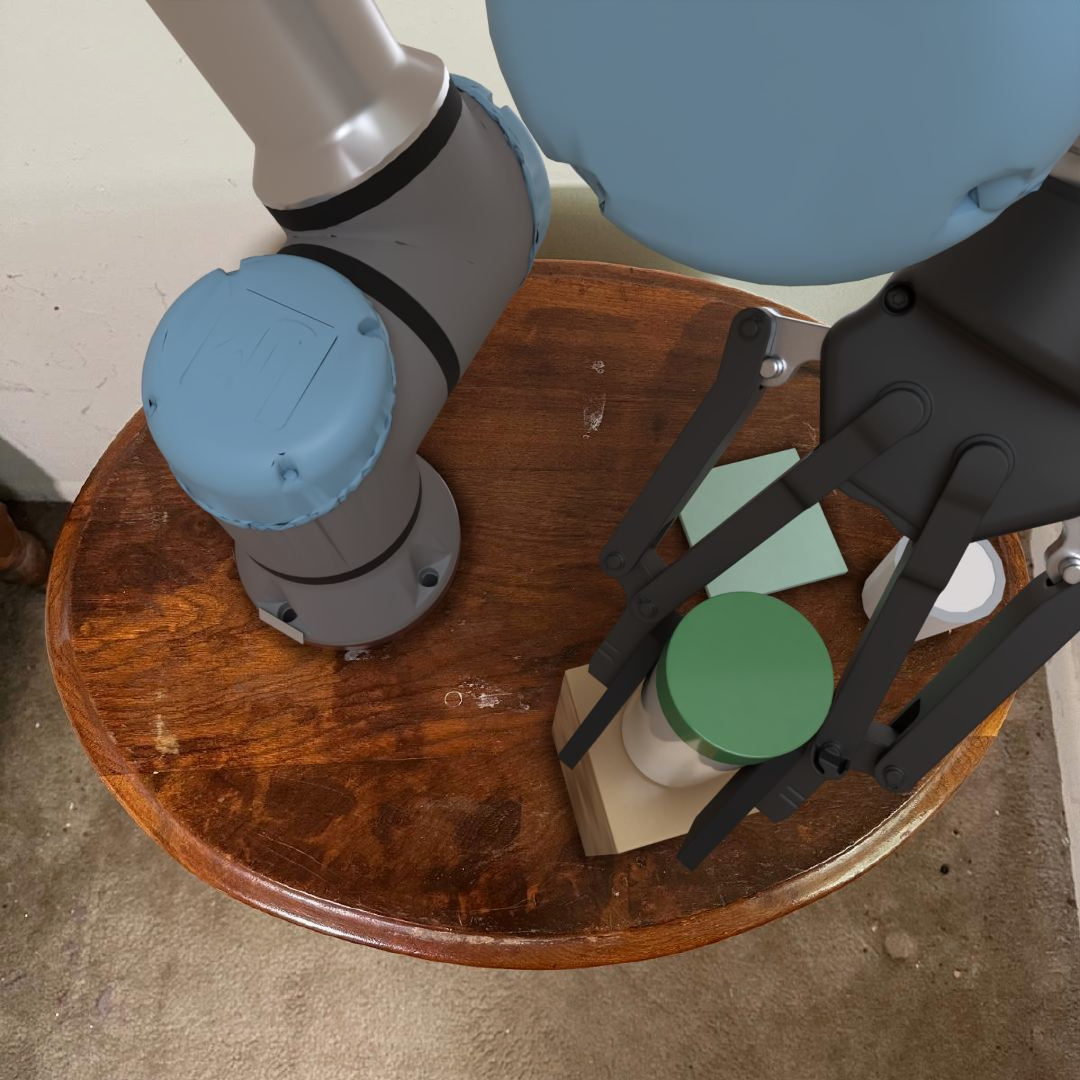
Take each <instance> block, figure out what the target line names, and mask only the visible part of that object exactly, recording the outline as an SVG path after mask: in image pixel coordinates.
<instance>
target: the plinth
mask: <svg viewBox="0 0 1080 1080" xmlns="http://www.w3.org/2000/svg"><path fill="white" fill-rule="evenodd" d="M588 668H589V663H588V664H584V665H581V666H577V667H573V668H569V669H566V670H565V671H564V674H563V679H562V681H561V682H562V683H561V688H560V691H559V696H558V699H557V704H556V709H555V713H554V717H553V721H552V726H551V729H550V730H551V735H552V738H553V742H554V745H555V749H556V753H557V755H558V754H559V753H560V752H561V750H562V749H563V748H564V746H565V745H566V744H567V742H568V741H569V740H570V738H571V737H572V736H573V734H574V733H575V732H576V730H577V729H578V727H579V726H580V725H581V723H582V722H583V721H584V719H585V718H586V717H587V715H588V714H589V713H590V711H591V710H592V709H593V707H594V706H595V705H596V703H597V702H598V701H599V699H600V698H601V697H602V695H603V694H604V693H605V691H606V690H607V689H608V688H607V687H605V686H604V685H603V684H602V683H600V682H599V681H598V680H597V679H596V678H594V677H593V676H592V675H591V674H589V673H588ZM640 684H641V683H640ZM637 688H638V687H637ZM635 691H636V690H635ZM635 691H634V692H635ZM634 692H633V694H634ZM633 694H632V695H633ZM632 695H631V696H632ZM631 696H630V698H631ZM630 698H629V699H628V700H627V701H626V703H625V704H624V705H623V707H622V708H621V709H620V711H619V712H618V713H617V714H616V716H615V717H614V718H613V720H612V721H611V722H610V723H609V725H608V726H607V727H606V729H605V730H604V731H603V733H602V734H601V735H600V736H599V738H598V739H597V740H596V741H595V743H594V744H593V745H592V746H591V748H590V749H589V750H588V751H587V752H586V754H585V755H584V756H583V757H582V759H581V760H580V761H579V762H578V764H577V765H576V766H575V767H574V768H573V770H571V769H570V768H569V767H568V766H566V765H565V764H564V763H563V762H562V761H561V760H559V764H560V767H561V770H562V775H563V778H564V783H565V785H566V789H567V793H568V796H569V799H570V804H571V807H572V811H573V815H574V818H575V822H576V825H577V828H578V833H579V836H580V840H581V844H582V848H583V850H584V854H585V857H593V856H607V855H616V854H623V853H626V852H629V851H632V850H636V849H639V848H642V847H645V846H649V845H652V844H656V843H659V842H663V841H666V840H669V839H673V838H676V837H679V836H683V835H687V833H688V831H689V829H690V827H691V825H692V823H693V821H694V819H695V817H696V816H697V815H698V814H699V813H700V812H701V811H702V810H703V808H704V807H705V806H706V805H707V804H708V803H709V802H710V801H711V800H712V799H713V798H714V796H715V795H716V794H717V793H718V792H719V791H720V790H721V789H722V788H723V787H724V786H725V784H726V783H727V782H728V781H729V780H730V779H731V778H732V777H733V776H734V775H735V773H736V772H737V771H738V770H739V769H740V768H739V769H737V770H734V771H732V772H729V773H727V774H724V775H722V776H719V777H717V778H714V779H712V780H709V781H707V782H704V783H702V784H699V785H697V786H692V787H686V788H675V787H669V786H665V785H662V784H659V783H657V782H655V781H653V780H651V779H650V778H648V777H647V776H646V775H644V774H643V773H642V772H641V771H640V770H639V769H638V768H637V767H636V766H635V764H634V763H633V761H632V760H631V759H630V757H629V755H628V753H627V750H626V748H625V745H624V741H623V736H622V720H623V714H624V711H625V708H626V706H627V703H628V701H629V700H630ZM756 813H761V812H760V811H759V810H758V809H756V808H755V807H754V808H753V809H752V810H751V811H750V812H749V814H748V815H747V816H750V815H753V814H756Z"/></svg>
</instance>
